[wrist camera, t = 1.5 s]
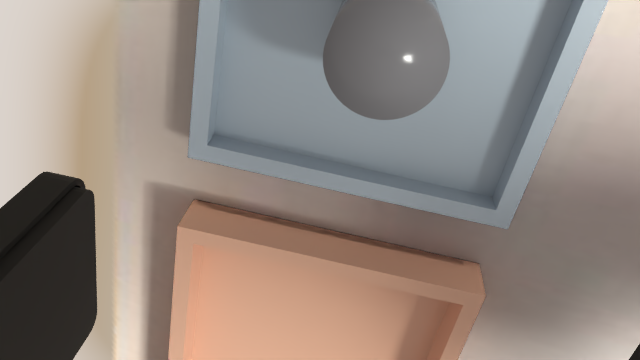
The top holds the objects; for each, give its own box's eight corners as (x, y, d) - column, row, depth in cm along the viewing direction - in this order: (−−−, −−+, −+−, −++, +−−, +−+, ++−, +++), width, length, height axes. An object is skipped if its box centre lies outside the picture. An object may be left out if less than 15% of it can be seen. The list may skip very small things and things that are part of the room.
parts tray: (651, -145, 23) (672, -147, 21) (501, 210, 32) (507, 229, 30) (231, -236, 23) (218, -244, 22) (199, 142, 32) (187, 157, 30)
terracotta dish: (479, 263, 34) (486, 296, 31) (403, 443, 43) (403, 480, 40) (194, 199, 34) (177, 226, 32) (177, 391, 43) (163, 424, 41)
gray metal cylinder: (452, -16, 26) (467, 12, 21) (423, 84, 28) (429, 131, 23) (348, -39, 26) (336, -17, 21) (328, 62, 28) (312, 105, 23)
